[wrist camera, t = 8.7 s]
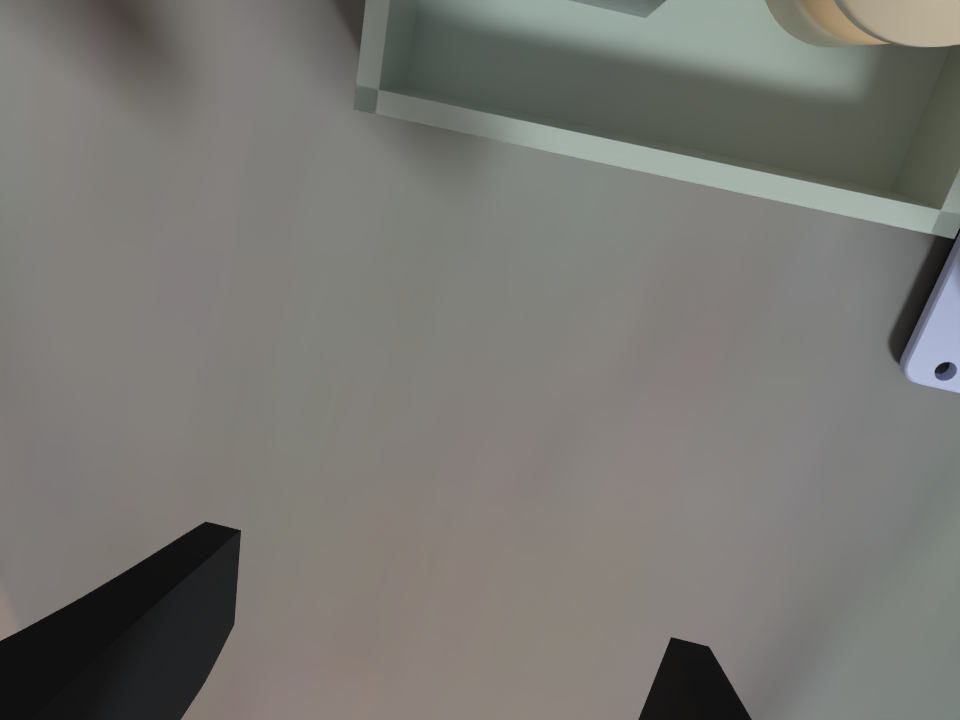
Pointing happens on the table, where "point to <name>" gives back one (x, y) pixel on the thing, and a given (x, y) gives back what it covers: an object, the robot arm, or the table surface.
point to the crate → (682, 98)
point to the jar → (870, 22)
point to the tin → (626, 6)
